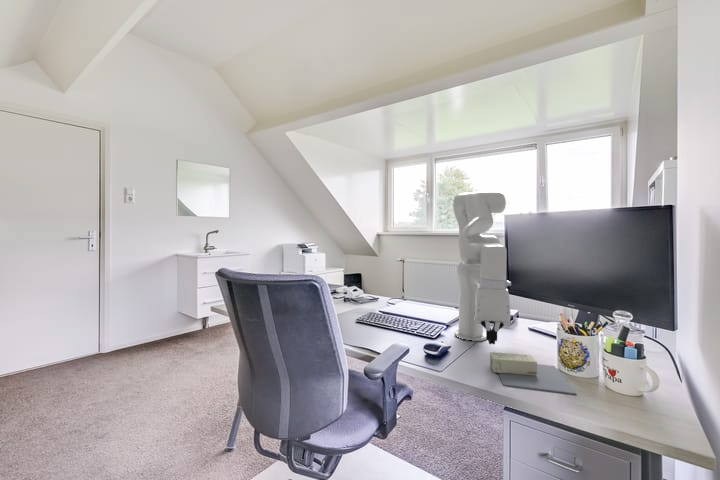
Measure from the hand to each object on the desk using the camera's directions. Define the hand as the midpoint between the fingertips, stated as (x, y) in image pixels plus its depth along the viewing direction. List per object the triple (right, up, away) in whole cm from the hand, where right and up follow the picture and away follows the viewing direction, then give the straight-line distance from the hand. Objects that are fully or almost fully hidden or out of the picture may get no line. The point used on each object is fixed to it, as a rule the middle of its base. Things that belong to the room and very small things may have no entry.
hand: (491, 342), depth 100 cm
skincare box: (0, -6, 0) cm, 6 cm away
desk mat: (+10, -9, -4) cm, 14 cm away
